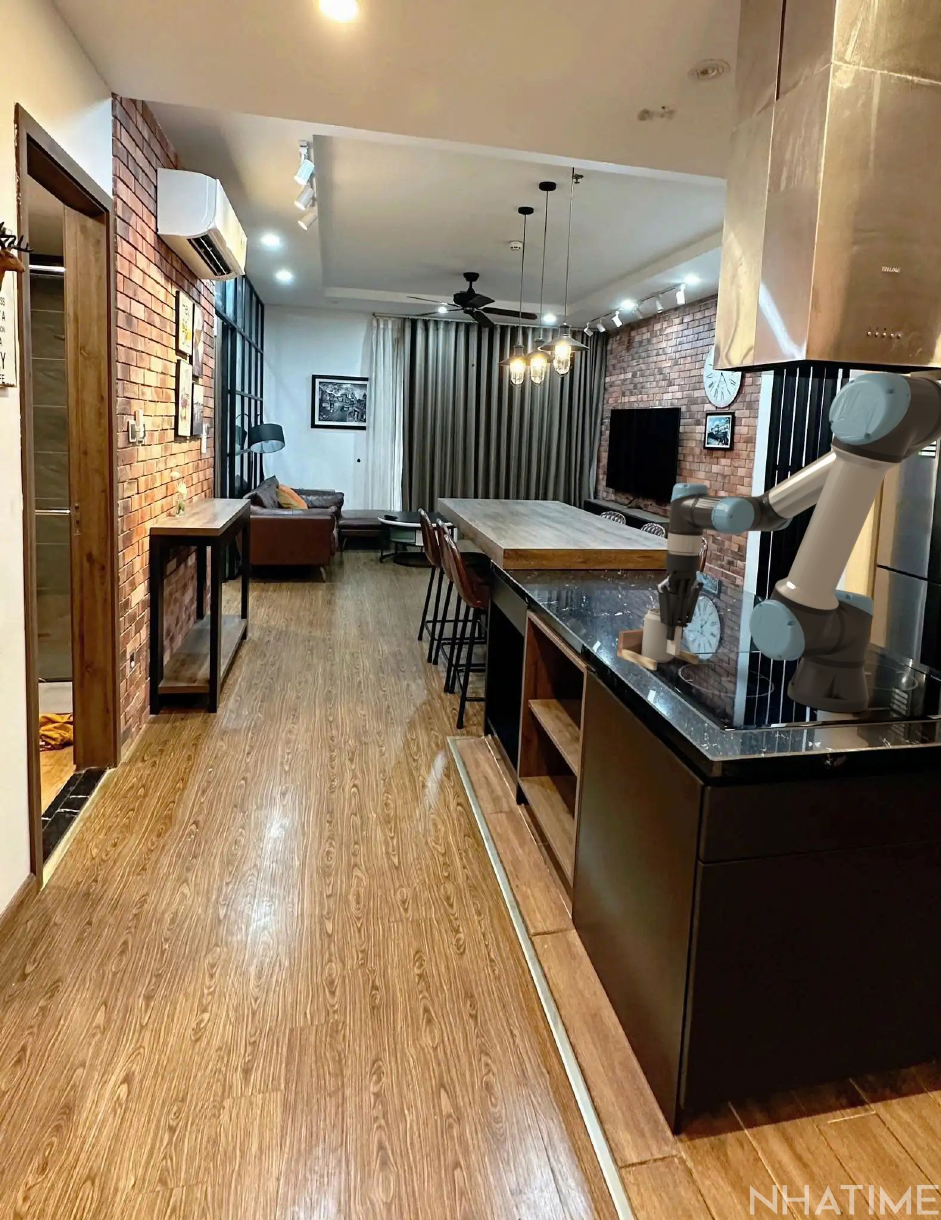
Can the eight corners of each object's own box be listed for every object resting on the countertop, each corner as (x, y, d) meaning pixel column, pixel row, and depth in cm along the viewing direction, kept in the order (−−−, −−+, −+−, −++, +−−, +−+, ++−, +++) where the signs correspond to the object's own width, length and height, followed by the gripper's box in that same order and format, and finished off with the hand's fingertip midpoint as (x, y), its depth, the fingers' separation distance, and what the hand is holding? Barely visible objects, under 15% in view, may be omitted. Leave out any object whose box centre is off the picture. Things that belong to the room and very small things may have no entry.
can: (654, 653, 189) (659, 605, 186) (679, 661, 183) (684, 611, 180) (634, 657, 184) (639, 608, 181) (659, 665, 178) (664, 615, 176)
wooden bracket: (697, 663, 181) (700, 639, 180) (653, 670, 174) (655, 644, 173) (660, 650, 192) (663, 626, 190) (617, 655, 185) (619, 631, 184)
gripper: (692, 549, 179) (681, 646, 185) (650, 551, 173) (640, 652, 178) (716, 554, 173) (705, 654, 178) (673, 556, 167) (663, 660, 172)
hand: (672, 653), depth 178 cm, fingers closed
